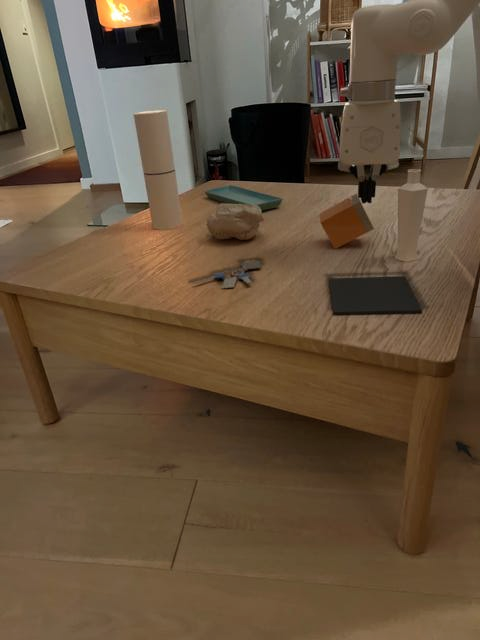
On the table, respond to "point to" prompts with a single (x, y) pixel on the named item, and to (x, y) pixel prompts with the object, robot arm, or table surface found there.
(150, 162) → the cylindrical container
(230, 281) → the toy rifle
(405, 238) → the perfume bottle
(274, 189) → the table surface
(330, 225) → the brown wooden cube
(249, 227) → the fossil replica
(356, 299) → the coaster
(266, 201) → the shallow long dish
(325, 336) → the table surface
